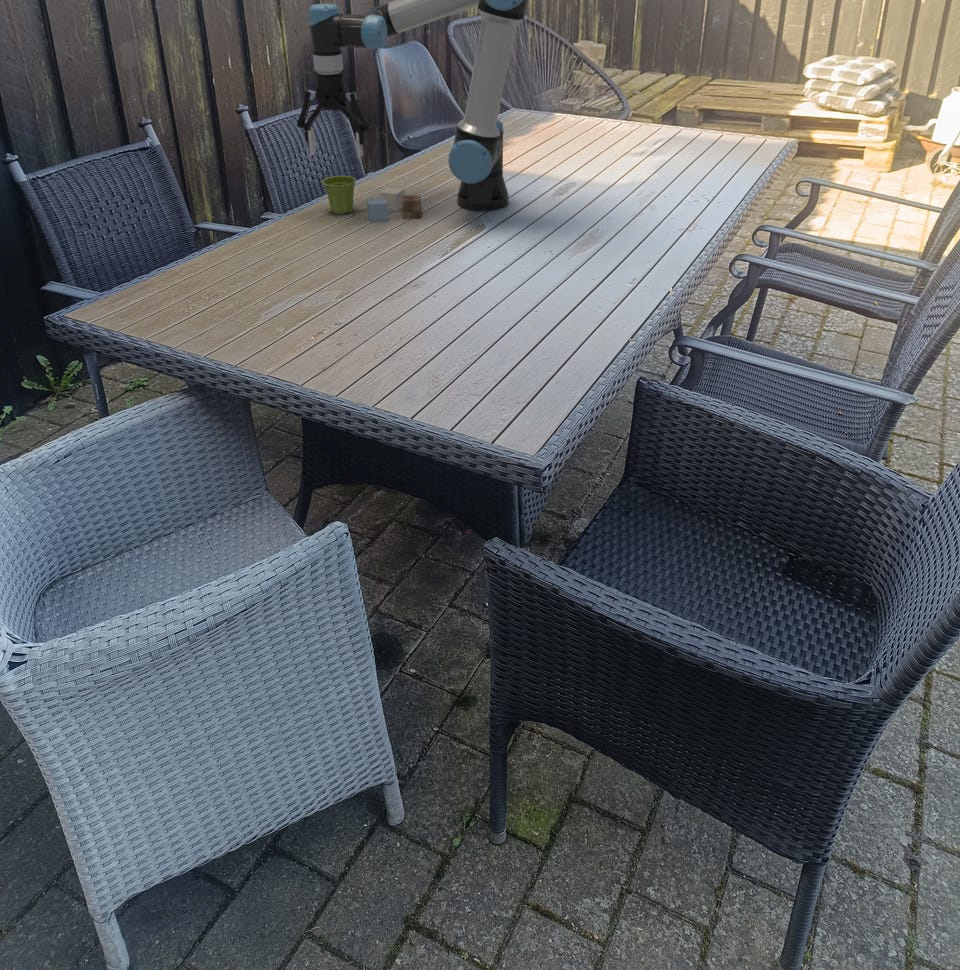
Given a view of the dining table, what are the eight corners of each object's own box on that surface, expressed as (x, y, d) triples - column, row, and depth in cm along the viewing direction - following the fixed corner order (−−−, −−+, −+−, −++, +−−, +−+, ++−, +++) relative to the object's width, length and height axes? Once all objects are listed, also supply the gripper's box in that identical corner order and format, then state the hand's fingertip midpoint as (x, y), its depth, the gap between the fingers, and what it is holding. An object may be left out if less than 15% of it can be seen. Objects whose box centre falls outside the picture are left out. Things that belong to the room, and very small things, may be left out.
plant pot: (352, 217, 238) (349, 186, 233) (321, 215, 240) (317, 184, 235) (362, 207, 246) (360, 176, 240) (332, 205, 247) (328, 174, 242)
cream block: (405, 206, 246) (404, 189, 243) (397, 211, 242) (395, 194, 239) (390, 204, 247) (389, 187, 245) (381, 209, 244) (380, 192, 241)
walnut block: (421, 213, 241) (420, 195, 238) (420, 218, 237) (419, 200, 234) (404, 213, 241) (403, 195, 238) (403, 218, 237) (402, 201, 234)
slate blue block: (385, 215, 240) (383, 197, 237) (388, 220, 236) (387, 202, 233) (367, 217, 238) (366, 199, 236) (370, 222, 235) (369, 204, 232)
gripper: (378, 70, 223) (383, 154, 235) (289, 67, 226) (298, 149, 239) (370, 76, 217) (376, 161, 229) (278, 72, 220) (289, 156, 233)
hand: (336, 155), depth 234 cm, fingers open, 13 cm apart
